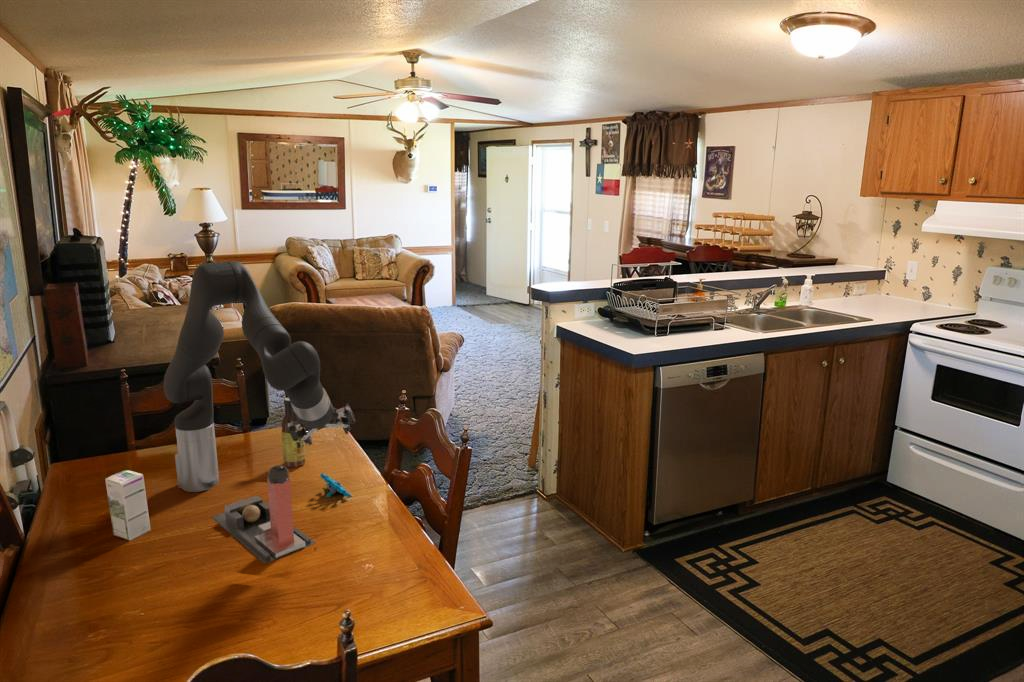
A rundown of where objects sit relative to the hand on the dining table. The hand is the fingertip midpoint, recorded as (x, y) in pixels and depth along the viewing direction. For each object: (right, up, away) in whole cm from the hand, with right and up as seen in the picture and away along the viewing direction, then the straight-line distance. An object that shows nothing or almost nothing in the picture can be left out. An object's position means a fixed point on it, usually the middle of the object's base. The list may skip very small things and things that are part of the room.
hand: (328, 435), depth 158 cm
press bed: (-15, -23, -1) cm, 27 cm away
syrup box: (-45, -23, -1) cm, 51 cm away
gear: (-3, -19, +17) cm, 26 cm away
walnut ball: (-19, -21, +2) cm, 28 cm away
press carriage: (-9, -23, -8) cm, 26 cm away
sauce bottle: (-20, -14, +38) cm, 45 cm away
